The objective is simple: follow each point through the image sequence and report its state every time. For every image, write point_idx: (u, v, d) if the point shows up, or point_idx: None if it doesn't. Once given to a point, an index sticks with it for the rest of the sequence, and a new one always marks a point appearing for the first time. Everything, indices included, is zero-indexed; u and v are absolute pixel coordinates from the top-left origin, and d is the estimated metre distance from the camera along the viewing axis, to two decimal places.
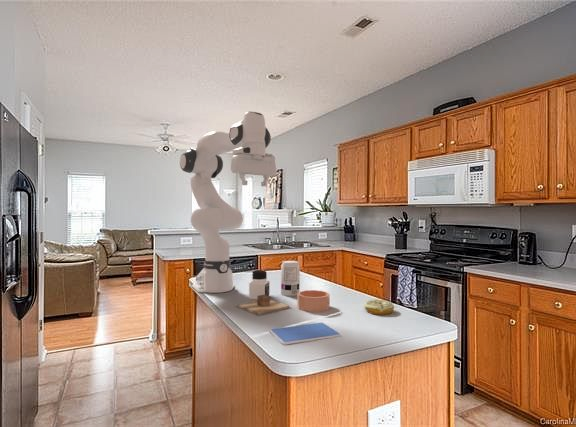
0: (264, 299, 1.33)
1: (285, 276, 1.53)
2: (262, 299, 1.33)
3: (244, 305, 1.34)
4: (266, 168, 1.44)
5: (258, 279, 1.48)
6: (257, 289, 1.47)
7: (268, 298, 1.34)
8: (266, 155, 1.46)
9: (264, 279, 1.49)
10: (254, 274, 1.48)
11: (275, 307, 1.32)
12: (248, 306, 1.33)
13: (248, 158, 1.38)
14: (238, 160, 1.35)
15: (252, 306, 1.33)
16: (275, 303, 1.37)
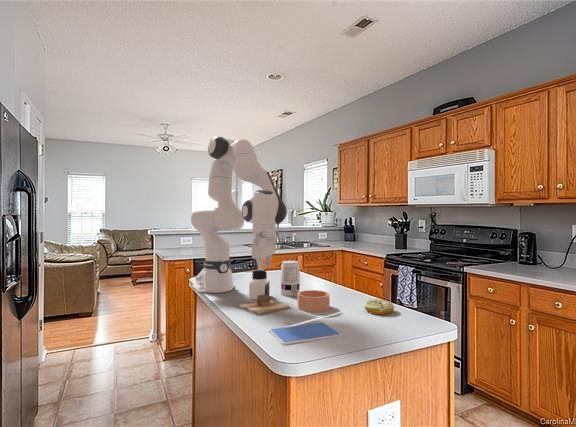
0: (264, 299, 1.33)
1: (285, 276, 1.53)
2: (262, 299, 1.33)
3: (244, 305, 1.34)
4: None
5: (258, 279, 1.48)
6: (257, 289, 1.47)
7: (268, 298, 1.34)
8: None
9: (264, 279, 1.49)
10: (254, 274, 1.48)
11: (275, 307, 1.32)
12: (248, 306, 1.33)
13: None
14: None
15: (252, 306, 1.33)
16: (275, 303, 1.37)
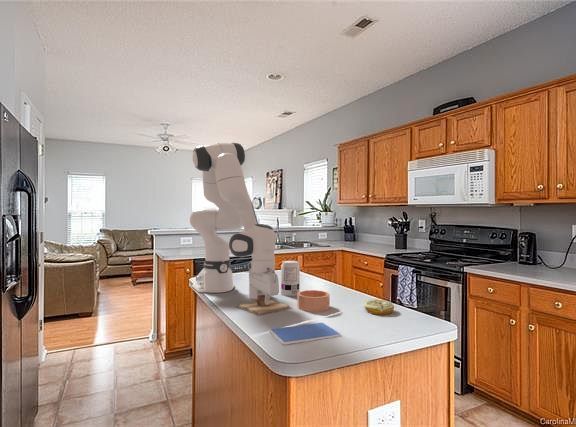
0: None
1: (285, 276, 1.53)
2: (262, 299, 1.33)
3: (244, 305, 1.34)
4: (264, 285, 1.30)
5: None
6: None
7: None
8: (268, 271, 1.29)
9: None
10: None
11: (275, 307, 1.32)
12: (248, 306, 1.33)
13: (254, 274, 1.38)
14: (249, 275, 1.42)
15: (252, 306, 1.33)
16: (275, 303, 1.37)
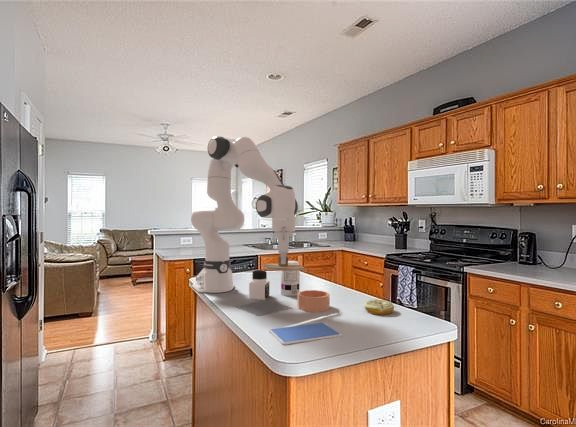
0: None
1: (285, 276, 1.53)
2: (279, 259, 1.33)
3: (266, 264, 1.37)
4: None
5: (258, 279, 1.48)
6: (257, 289, 1.47)
7: (286, 259, 1.33)
8: None
9: (264, 279, 1.49)
10: (254, 274, 1.48)
11: (290, 267, 1.30)
12: (268, 265, 1.35)
13: None
14: (278, 237, 1.44)
15: (271, 265, 1.34)
16: (296, 265, 1.35)
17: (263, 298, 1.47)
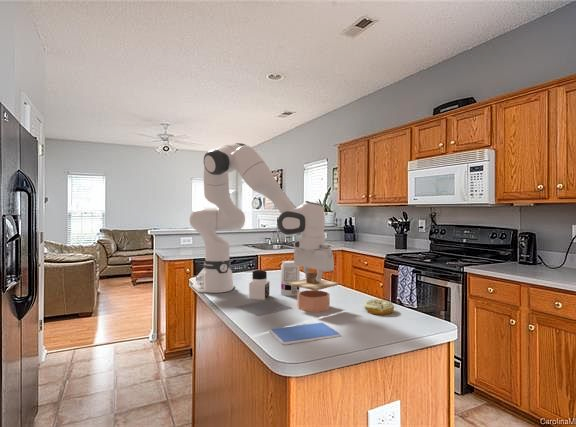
0: None
1: (285, 276, 1.53)
2: (313, 276, 1.33)
3: (294, 283, 1.34)
4: (317, 262, 1.30)
5: (258, 279, 1.48)
6: (257, 289, 1.47)
7: None
8: (322, 247, 1.30)
9: (264, 279, 1.49)
10: (254, 274, 1.48)
11: (326, 284, 1.32)
12: (299, 283, 1.32)
13: (302, 252, 1.37)
14: (294, 254, 1.41)
15: (304, 284, 1.32)
16: (323, 281, 1.38)
17: (263, 298, 1.47)
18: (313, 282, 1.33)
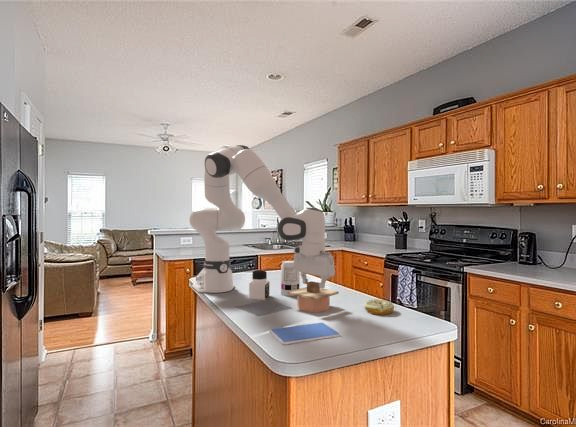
0: (315, 285, 1.33)
1: (285, 276, 1.53)
2: (313, 285, 1.33)
3: (294, 292, 1.34)
4: (318, 268, 1.30)
5: (258, 279, 1.48)
6: (257, 289, 1.47)
7: (318, 284, 1.34)
8: (322, 254, 1.30)
9: (264, 279, 1.49)
10: (254, 274, 1.48)
11: (327, 293, 1.33)
12: (299, 293, 1.33)
13: (302, 258, 1.37)
14: (294, 259, 1.41)
15: (304, 293, 1.32)
16: (323, 289, 1.38)
17: (263, 298, 1.47)
18: (313, 291, 1.33)
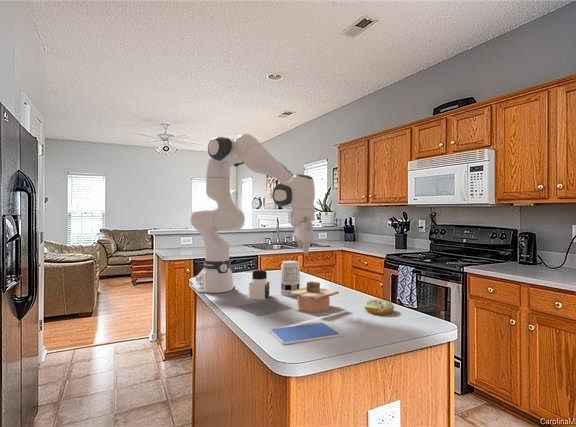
0: (315, 285, 1.33)
1: (285, 276, 1.53)
2: (313, 285, 1.33)
3: (294, 292, 1.34)
4: (301, 234, 1.32)
5: (258, 279, 1.48)
6: (257, 289, 1.47)
7: (318, 284, 1.34)
8: (305, 219, 1.31)
9: (264, 279, 1.49)
10: (254, 274, 1.48)
11: (327, 293, 1.33)
12: (299, 293, 1.33)
13: None
14: None
15: (304, 293, 1.32)
16: (323, 289, 1.38)
17: (263, 298, 1.47)
18: (313, 291, 1.33)
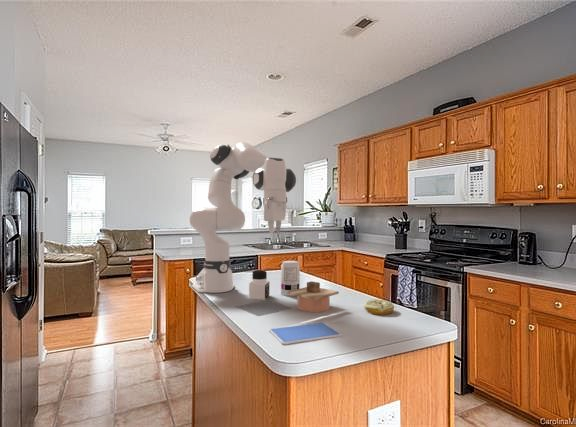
0: (315, 285, 1.33)
1: (285, 276, 1.53)
2: (313, 285, 1.33)
3: (294, 292, 1.34)
4: None
5: (258, 279, 1.48)
6: (257, 289, 1.47)
7: (318, 284, 1.34)
8: None
9: (264, 279, 1.49)
10: (254, 274, 1.48)
11: (327, 293, 1.33)
12: (299, 293, 1.33)
13: None
14: None
15: (304, 293, 1.32)
16: (323, 289, 1.38)
17: (263, 298, 1.47)
18: (313, 291, 1.33)
